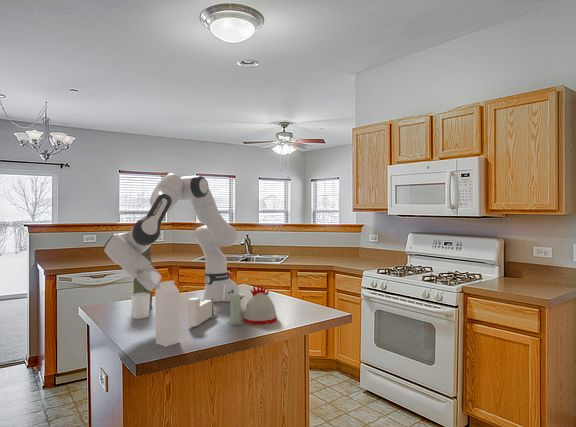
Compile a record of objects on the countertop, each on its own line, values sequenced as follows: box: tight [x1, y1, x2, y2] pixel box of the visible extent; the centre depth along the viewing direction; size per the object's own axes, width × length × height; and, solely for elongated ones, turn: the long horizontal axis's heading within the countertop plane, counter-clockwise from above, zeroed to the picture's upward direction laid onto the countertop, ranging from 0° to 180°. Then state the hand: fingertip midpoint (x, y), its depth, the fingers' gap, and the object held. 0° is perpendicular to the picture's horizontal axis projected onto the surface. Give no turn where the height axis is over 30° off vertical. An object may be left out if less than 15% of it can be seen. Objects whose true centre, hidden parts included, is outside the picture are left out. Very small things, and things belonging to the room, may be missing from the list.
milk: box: [154, 279, 181, 348], centre depth 145 cm, size 6×6×22 cm
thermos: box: [132, 246, 153, 309], centre depth 198 cm, size 9×12×35 cm
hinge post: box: [207, 298, 218, 320], centre depth 179 cm, size 6×6×8 cm
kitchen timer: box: [243, 284, 278, 326], centre depth 174 cm, size 14×14×15 cm
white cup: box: [130, 293, 151, 320], centre depth 181 cm, size 8×8×10 cm
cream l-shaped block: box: [187, 297, 212, 327], centre depth 170 cm, size 16×4×10 cm, turn 166°
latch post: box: [226, 294, 245, 327], centre depth 168 cm, size 5×5×12 cm
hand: (165, 292), depth 162 cm, fingers closed
